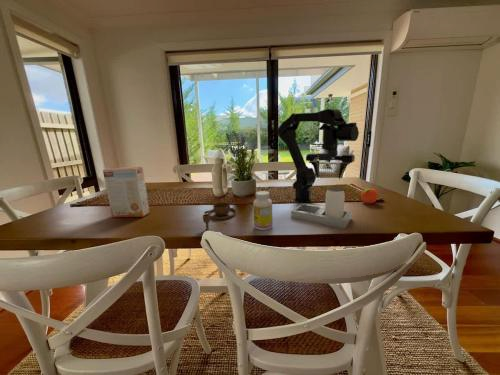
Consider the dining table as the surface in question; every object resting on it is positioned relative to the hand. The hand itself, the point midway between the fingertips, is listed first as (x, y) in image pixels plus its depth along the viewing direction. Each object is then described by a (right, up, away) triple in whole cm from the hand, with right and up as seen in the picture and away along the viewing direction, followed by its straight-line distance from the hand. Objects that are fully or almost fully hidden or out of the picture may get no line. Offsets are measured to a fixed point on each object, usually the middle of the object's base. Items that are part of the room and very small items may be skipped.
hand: (328, 177), depth 94 cm
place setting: (-48, -17, -4) cm, 51 cm away
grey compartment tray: (-7, -16, -10) cm, 20 cm away
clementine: (+20, -12, +5) cm, 24 cm away
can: (-2, -17, -12) cm, 21 cm away
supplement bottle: (-29, -19, -15) cm, 38 cm away
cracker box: (-86, -16, +1) cm, 87 cm away
